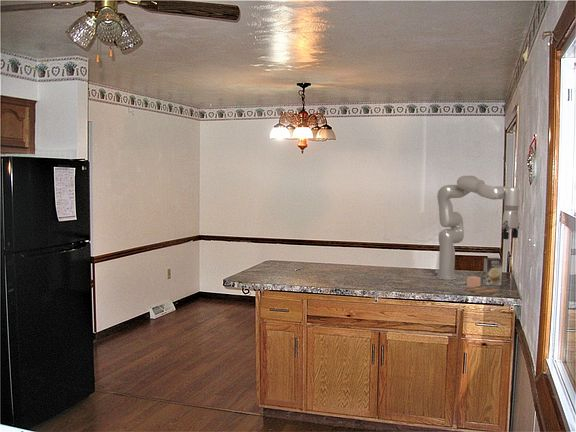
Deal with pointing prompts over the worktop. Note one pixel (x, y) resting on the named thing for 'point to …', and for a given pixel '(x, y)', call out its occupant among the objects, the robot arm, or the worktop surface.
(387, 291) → the worktop surface
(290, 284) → the worktop surface
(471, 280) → the cube
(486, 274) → the coffee box
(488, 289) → the walnut board
